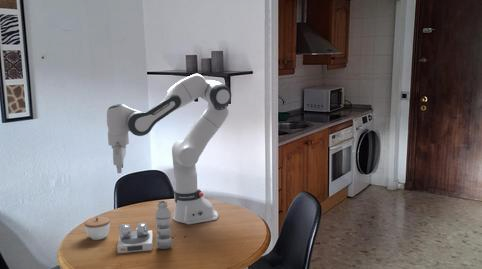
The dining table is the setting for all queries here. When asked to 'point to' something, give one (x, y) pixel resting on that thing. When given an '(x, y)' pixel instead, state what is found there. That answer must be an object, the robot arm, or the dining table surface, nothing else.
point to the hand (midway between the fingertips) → (120, 170)
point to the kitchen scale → (135, 243)
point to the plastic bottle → (163, 226)
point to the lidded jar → (97, 227)
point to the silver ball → (142, 230)
